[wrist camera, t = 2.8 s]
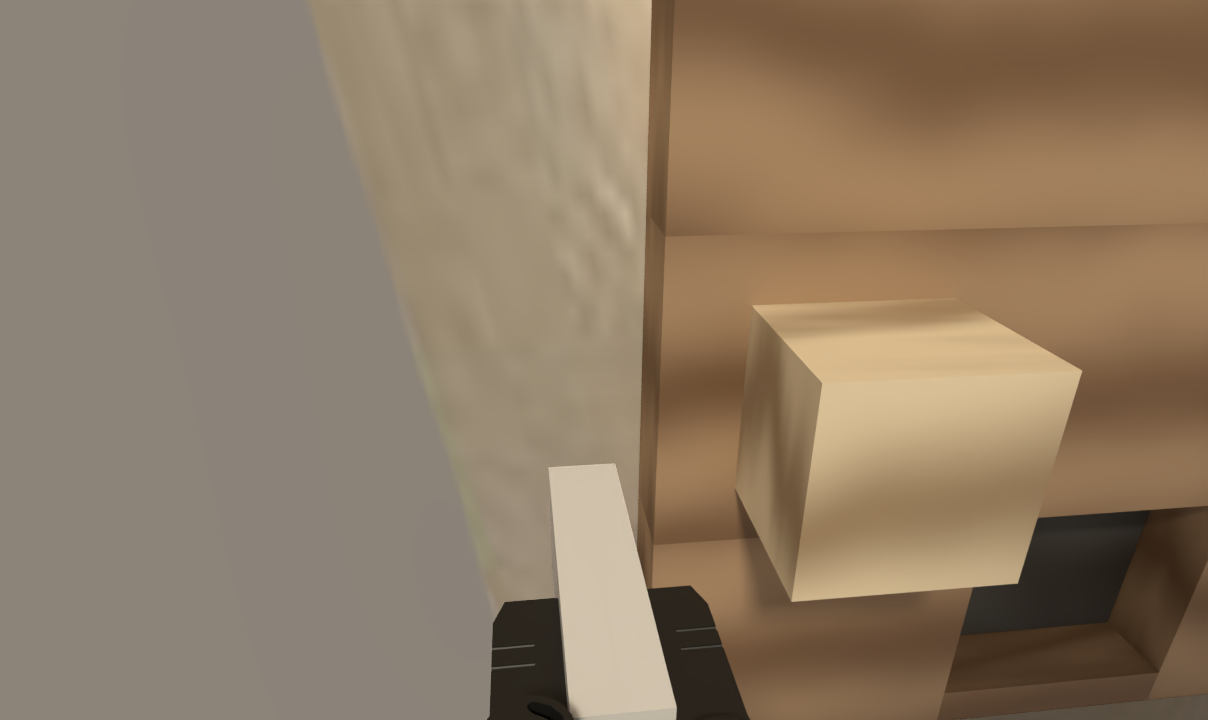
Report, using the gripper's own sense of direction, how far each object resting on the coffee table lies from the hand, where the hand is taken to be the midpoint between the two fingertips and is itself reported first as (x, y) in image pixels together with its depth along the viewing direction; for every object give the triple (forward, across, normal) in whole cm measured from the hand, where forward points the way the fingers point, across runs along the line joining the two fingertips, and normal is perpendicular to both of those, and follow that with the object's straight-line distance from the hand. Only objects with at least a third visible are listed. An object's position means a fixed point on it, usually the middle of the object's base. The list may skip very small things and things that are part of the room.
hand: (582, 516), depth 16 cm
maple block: (+5, +8, 0) cm, 9 cm away
